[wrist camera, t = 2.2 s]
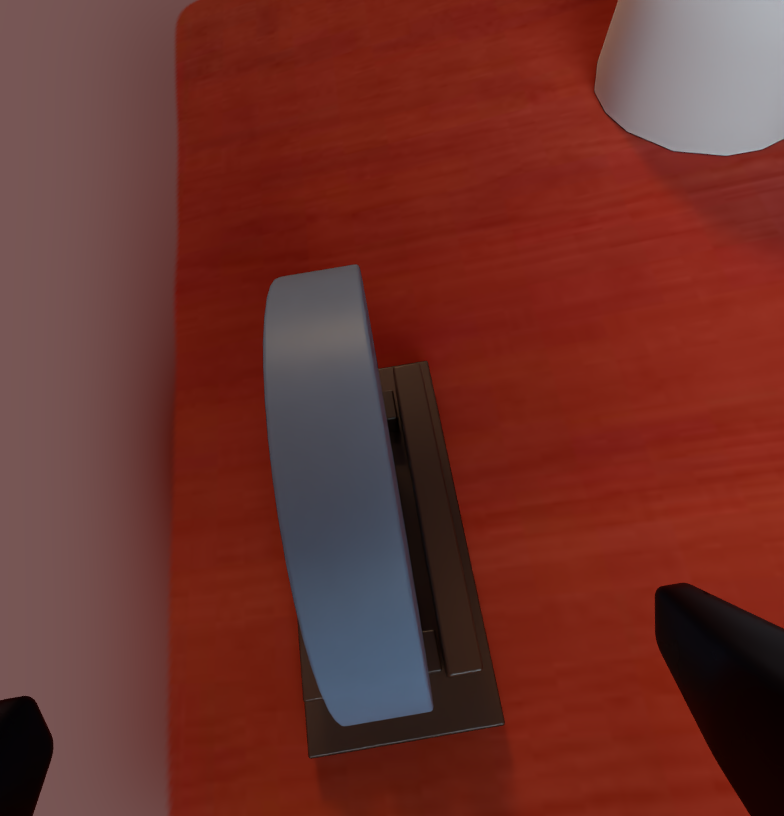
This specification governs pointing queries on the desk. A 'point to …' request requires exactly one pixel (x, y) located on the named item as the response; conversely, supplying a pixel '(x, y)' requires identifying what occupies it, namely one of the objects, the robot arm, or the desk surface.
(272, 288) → the disc
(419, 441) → the rack
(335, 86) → the desk surface
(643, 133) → the teardrop
